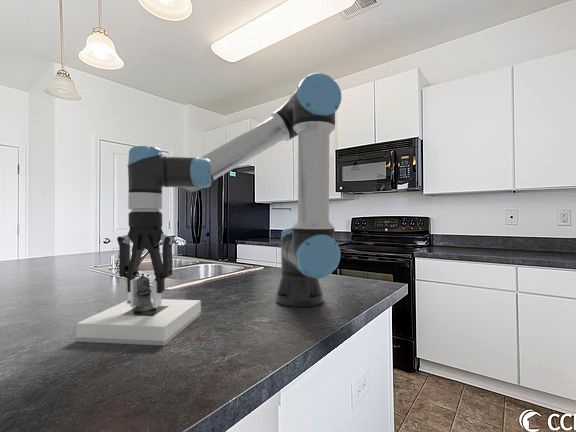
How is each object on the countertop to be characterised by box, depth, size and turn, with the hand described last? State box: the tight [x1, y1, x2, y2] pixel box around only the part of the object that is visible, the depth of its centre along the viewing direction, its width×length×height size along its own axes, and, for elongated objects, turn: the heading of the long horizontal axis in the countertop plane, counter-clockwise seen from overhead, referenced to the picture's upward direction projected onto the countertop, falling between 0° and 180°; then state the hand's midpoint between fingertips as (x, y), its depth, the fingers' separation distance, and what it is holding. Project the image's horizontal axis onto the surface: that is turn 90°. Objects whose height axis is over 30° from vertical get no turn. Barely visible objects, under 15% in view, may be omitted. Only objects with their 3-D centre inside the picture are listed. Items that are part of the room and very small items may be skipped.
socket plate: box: [76, 298, 202, 346], centre depth 77 cm, size 20×20×5 cm
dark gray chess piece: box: [131, 272, 156, 316], centre depth 77 cm, size 6×6×12 cm
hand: (146, 305), depth 77 cm, fingers closed on dark gray chess piece, 5 cm apart
